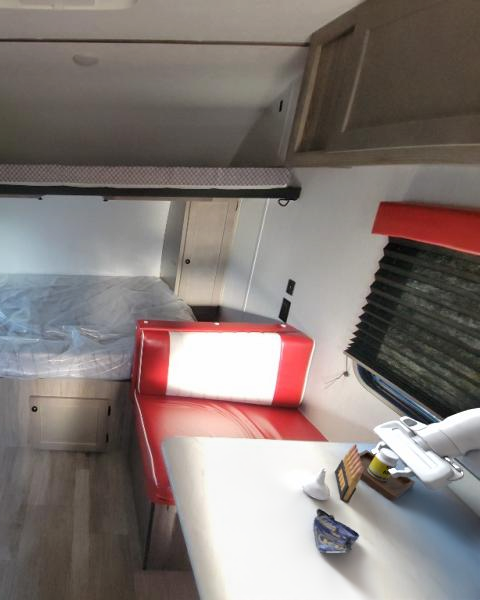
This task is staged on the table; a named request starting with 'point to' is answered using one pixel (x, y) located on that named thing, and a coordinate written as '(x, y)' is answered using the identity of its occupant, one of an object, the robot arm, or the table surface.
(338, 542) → the snack package
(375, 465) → the supplement bottle
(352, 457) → the ammunition clip
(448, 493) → the table surface
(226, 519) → the table surface
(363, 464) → the tray
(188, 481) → the table surface
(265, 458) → the table surface
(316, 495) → the white funnel
